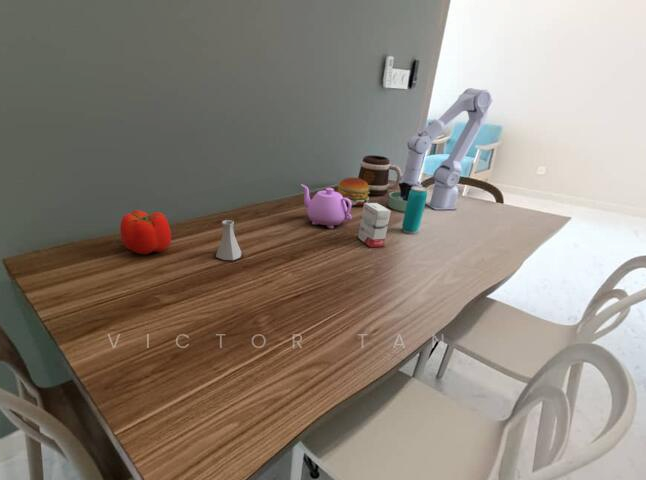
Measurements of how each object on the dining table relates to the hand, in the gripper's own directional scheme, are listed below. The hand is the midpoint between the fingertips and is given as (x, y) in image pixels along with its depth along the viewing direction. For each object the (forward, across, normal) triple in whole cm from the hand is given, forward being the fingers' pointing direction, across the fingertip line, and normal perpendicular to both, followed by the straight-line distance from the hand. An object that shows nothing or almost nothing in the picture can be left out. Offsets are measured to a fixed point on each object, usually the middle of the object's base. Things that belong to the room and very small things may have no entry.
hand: (405, 202), depth 160 cm
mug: (+2, -21, -4) cm, 21 cm away
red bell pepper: (+2, +34, -98) cm, 103 cm away
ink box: (+2, +34, -30) cm, 45 cm away
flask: (+2, +40, -76) cm, 85 cm away
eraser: (+1, 0, 0) cm, 1 cm away
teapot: (+2, +15, -40) cm, 42 cm away
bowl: (+2, 0, 0) cm, 2 cm away
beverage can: (+2, +26, -12) cm, 29 cm away
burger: (+2, -7, -20) cm, 22 cm away
